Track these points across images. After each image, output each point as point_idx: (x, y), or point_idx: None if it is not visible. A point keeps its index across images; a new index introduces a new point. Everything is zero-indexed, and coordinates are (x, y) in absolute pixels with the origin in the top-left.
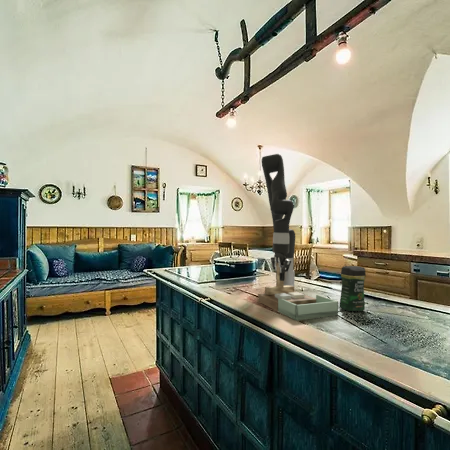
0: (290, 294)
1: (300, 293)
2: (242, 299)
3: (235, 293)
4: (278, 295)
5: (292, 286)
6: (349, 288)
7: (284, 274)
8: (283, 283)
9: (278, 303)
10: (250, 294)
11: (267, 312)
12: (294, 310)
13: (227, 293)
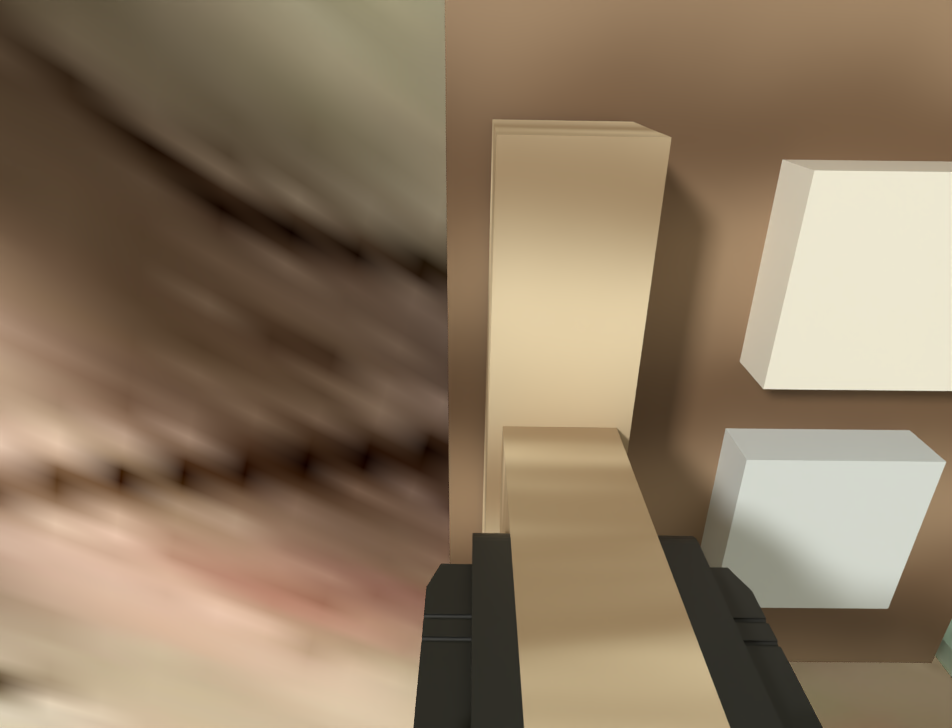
0: (827, 382)
1: (947, 197)
2: (311, 670)
3: (3, 632)
4: (808, 604)
5: (653, 190)
6: None
7: (807, 706)
8: (633, 474)
9: (943, 658)
10: (65, 505)
11: (838, 668)
12: None
13: (4, 698)
